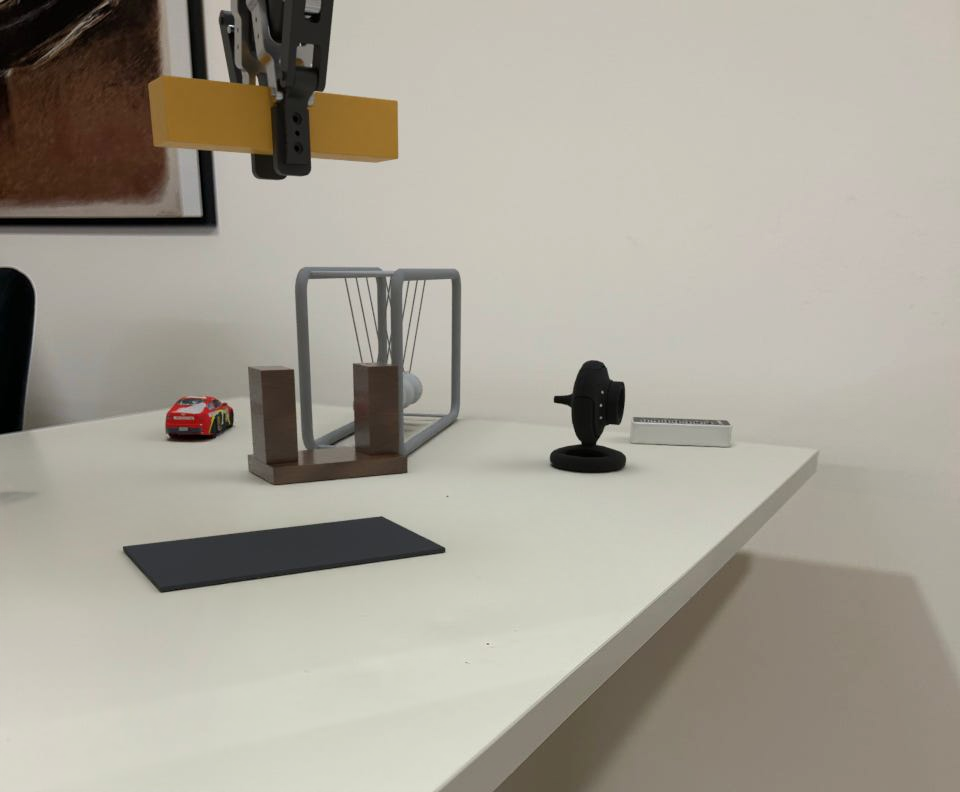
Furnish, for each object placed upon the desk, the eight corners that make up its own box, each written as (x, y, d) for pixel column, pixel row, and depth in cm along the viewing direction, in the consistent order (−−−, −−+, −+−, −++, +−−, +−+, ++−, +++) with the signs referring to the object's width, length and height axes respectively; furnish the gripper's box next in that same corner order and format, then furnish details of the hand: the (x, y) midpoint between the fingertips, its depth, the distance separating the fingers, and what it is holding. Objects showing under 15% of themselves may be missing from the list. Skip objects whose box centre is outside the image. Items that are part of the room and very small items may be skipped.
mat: (160, 592, 57) (160, 587, 57) (123, 550, 65) (122, 546, 65) (445, 551, 67) (445, 547, 66) (382, 519, 75) (382, 516, 74)
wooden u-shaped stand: (274, 485, 85) (267, 372, 82) (248, 470, 91) (241, 364, 88) (407, 472, 92) (407, 367, 88) (375, 459, 97) (374, 360, 94)
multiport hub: (629, 436, 114) (631, 416, 113) (726, 440, 112) (728, 420, 112) (630, 443, 109) (631, 422, 109) (730, 447, 108) (733, 425, 107)
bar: (168, 141, 57) (162, 74, 56) (153, 146, 60) (147, 83, 59) (398, 158, 65) (398, 100, 63) (376, 162, 67) (375, 106, 66)
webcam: (617, 475, 92) (625, 365, 88) (540, 469, 94) (544, 361, 91) (632, 461, 99) (640, 358, 95) (560, 455, 101) (565, 355, 98)
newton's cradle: (380, 415, 126) (378, 267, 120) (460, 418, 125) (462, 268, 118) (301, 455, 99) (292, 266, 92) (402, 461, 97) (400, 268, 91)
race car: (194, 423, 117) (192, 389, 116) (240, 424, 117) (237, 389, 116) (157, 440, 105) (154, 402, 104) (208, 442, 105) (205, 403, 103)
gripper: (166, -128, 60) (191, 181, 66) (241, -216, 49) (263, 165, 55) (282, -104, 64) (296, 187, 70) (377, -181, 53) (383, 173, 59)
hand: (281, 175), depth 63 cm, fingers closed on bar, 3 cm apart
